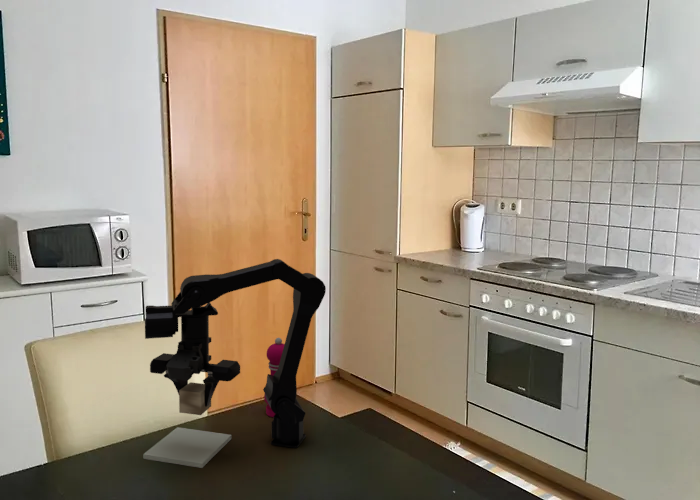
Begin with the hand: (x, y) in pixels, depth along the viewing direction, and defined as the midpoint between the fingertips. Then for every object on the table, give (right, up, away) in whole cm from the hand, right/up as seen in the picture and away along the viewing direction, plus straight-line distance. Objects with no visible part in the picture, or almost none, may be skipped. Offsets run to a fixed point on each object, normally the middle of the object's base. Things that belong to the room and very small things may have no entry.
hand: (195, 404), depth 131 cm
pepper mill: (+15, -8, +24) cm, 29 cm away
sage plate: (-2, -11, +4) cm, 12 cm away
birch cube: (0, -1, 0) cm, 1 cm away
